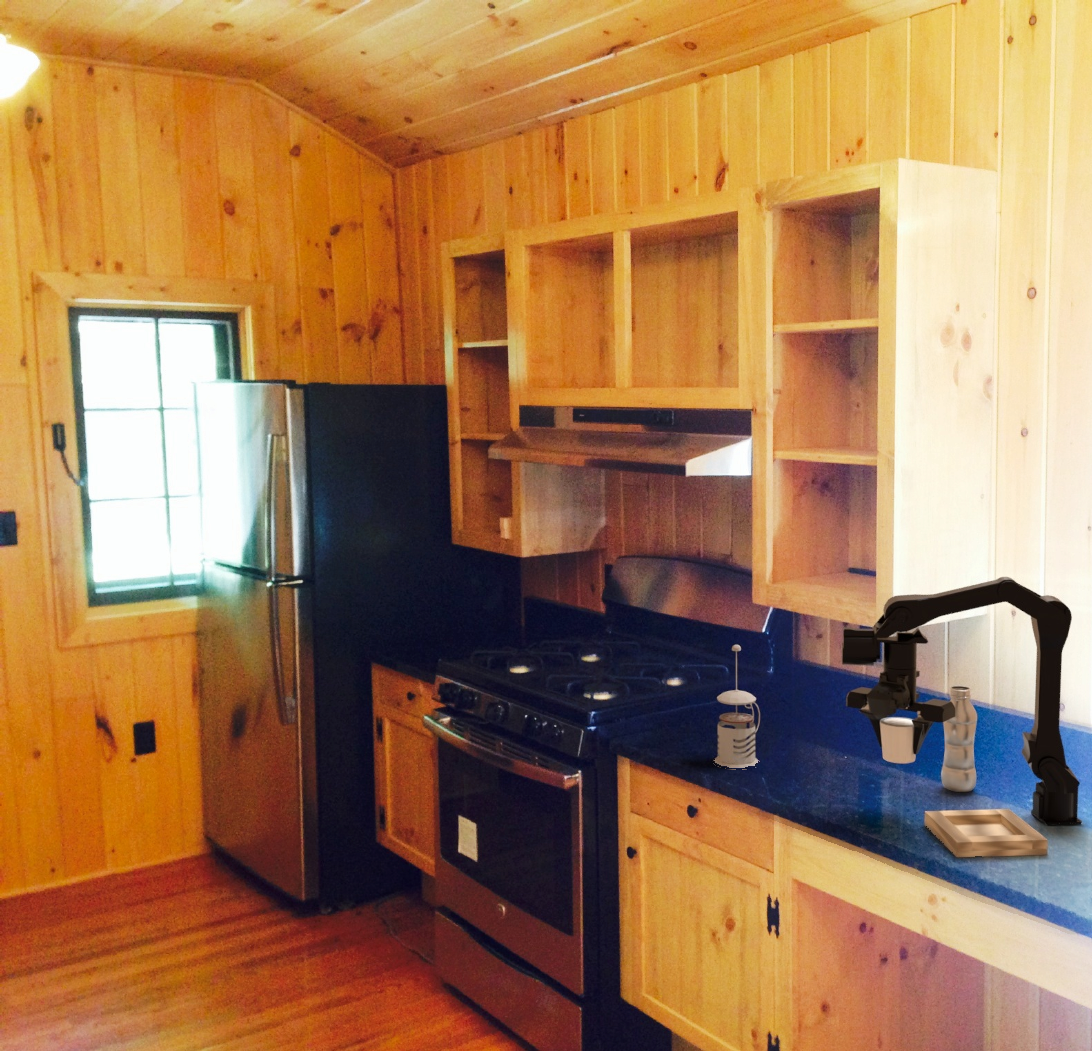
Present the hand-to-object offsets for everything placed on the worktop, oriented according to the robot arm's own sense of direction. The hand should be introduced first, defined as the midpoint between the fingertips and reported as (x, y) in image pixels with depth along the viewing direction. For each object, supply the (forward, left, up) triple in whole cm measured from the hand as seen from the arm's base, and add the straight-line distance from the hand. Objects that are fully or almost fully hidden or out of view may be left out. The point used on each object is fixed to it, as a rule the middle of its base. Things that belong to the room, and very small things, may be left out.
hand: (899, 750), depth 214 cm
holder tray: (-9, +15, -11) cm, 21 cm away
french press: (+23, -32, -11) cm, 41 cm away
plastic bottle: (-15, -10, -11) cm, 21 cm away
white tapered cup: (0, 0, -2) cm, 2 cm away
